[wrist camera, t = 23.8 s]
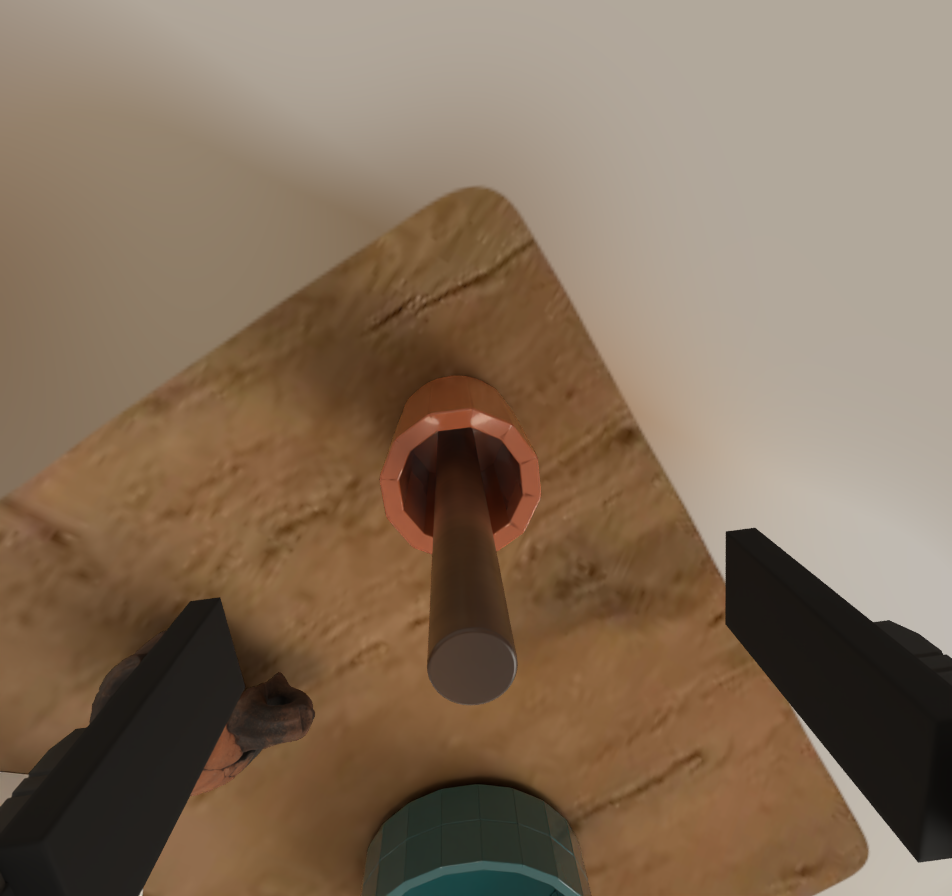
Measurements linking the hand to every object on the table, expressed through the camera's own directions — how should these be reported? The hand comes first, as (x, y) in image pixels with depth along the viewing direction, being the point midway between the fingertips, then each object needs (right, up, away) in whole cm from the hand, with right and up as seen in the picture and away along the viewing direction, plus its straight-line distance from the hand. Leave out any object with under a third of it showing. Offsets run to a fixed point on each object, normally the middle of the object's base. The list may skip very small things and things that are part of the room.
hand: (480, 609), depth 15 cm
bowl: (0, -26, +26) cm, 37 cm away
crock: (-1, +5, +17) cm, 18 cm away
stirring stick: (-1, +5, +17) cm, 18 cm away
